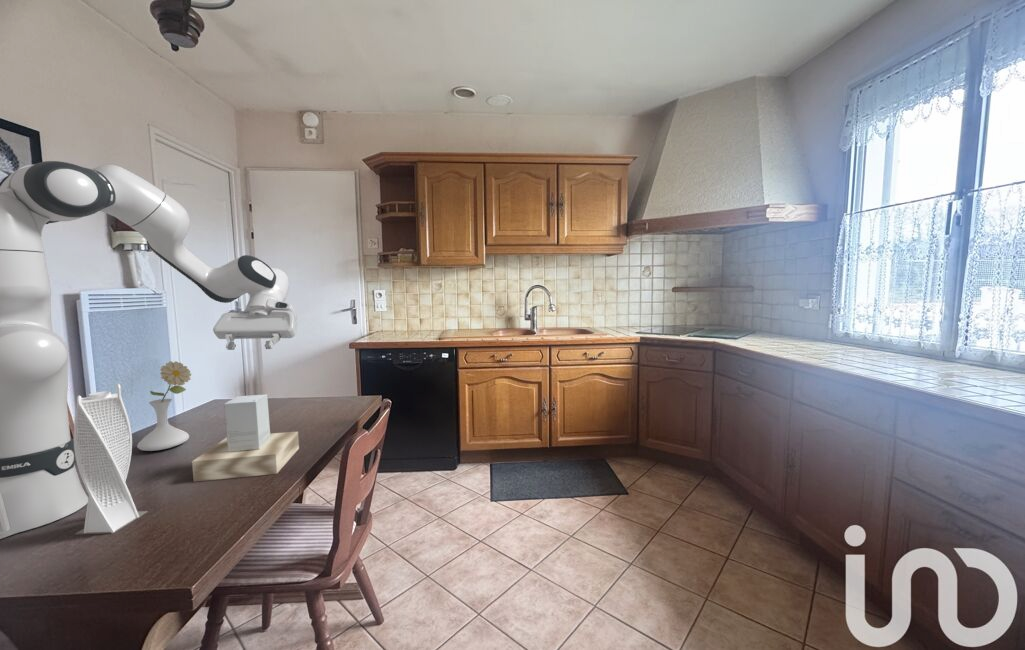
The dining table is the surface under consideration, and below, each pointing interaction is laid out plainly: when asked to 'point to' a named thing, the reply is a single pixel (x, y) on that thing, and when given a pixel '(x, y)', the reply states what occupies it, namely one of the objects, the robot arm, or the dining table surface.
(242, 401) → the supplement box
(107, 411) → the skyscraper
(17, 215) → the robot arm
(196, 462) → the birch stand
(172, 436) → the flower in vase
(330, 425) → the dining table surface
